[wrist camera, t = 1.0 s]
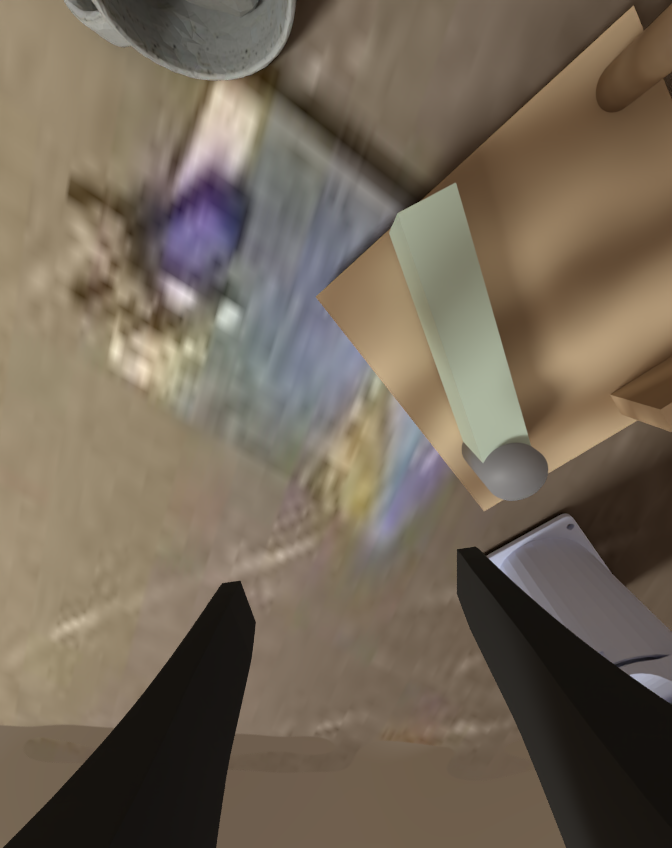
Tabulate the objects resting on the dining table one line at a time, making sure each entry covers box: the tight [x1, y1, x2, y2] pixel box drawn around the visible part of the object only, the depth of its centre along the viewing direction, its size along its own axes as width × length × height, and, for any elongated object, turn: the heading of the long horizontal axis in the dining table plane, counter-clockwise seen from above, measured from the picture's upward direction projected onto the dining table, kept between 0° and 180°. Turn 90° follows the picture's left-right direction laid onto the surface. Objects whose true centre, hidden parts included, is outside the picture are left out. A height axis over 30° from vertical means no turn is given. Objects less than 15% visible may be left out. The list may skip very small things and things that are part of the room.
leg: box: [389, 183, 548, 501], centre depth 15 cm, size 14×3×4 cm, turn 25°
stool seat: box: [316, 4, 672, 511], centre depth 15 cm, size 17×17×6 cm
